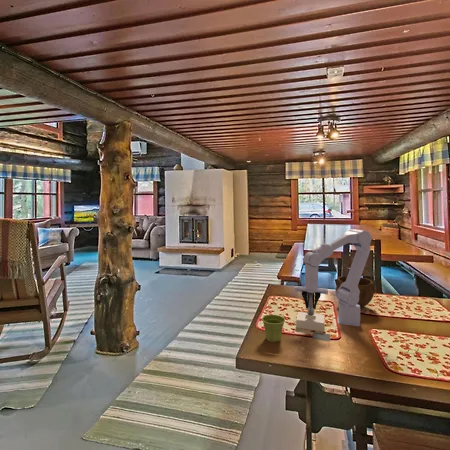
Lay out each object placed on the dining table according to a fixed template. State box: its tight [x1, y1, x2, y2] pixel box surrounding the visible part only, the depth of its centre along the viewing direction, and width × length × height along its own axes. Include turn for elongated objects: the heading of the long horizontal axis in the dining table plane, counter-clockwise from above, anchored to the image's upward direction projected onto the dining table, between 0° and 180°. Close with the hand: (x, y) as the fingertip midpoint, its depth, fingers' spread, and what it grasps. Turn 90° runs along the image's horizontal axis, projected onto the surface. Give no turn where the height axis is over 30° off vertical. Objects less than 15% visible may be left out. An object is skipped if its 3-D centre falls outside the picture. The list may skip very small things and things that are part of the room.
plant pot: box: [261, 314, 286, 343], centre depth 126 cm, size 9×9×9 cm
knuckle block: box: [295, 311, 325, 332], centre depth 139 cm, size 12×10×4 cm
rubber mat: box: [312, 331, 331, 342], centre depth 128 cm, size 7×7×1 cm
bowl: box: [335, 275, 375, 308], centre depth 163 cm, size 19×19×15 cm
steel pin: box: [306, 292, 315, 316], centre depth 138 cm, size 3×3×10 cm
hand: (310, 308), depth 139 cm, fingers closed on steel pin, 3 cm apart
